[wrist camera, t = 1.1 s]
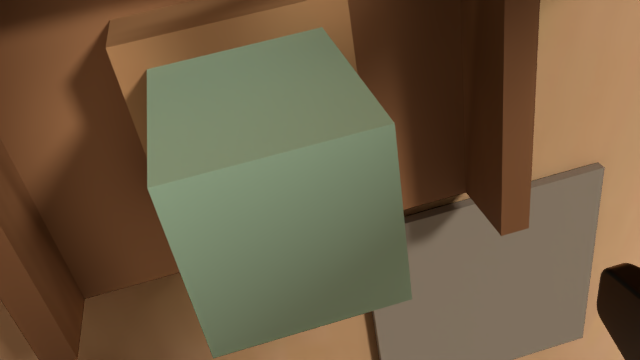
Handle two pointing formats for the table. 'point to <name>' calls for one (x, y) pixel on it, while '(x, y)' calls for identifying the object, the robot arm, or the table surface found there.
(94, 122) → the caddy
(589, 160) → the table surface
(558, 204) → the pad
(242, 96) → the teal block
